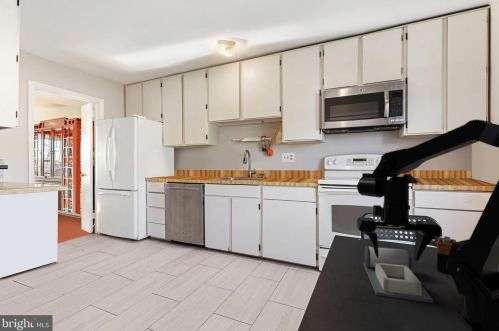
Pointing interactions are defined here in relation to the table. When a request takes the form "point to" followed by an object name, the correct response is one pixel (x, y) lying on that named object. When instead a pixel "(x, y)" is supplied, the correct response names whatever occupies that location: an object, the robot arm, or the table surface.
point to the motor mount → (394, 274)
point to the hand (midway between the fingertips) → (396, 258)
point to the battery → (443, 253)
